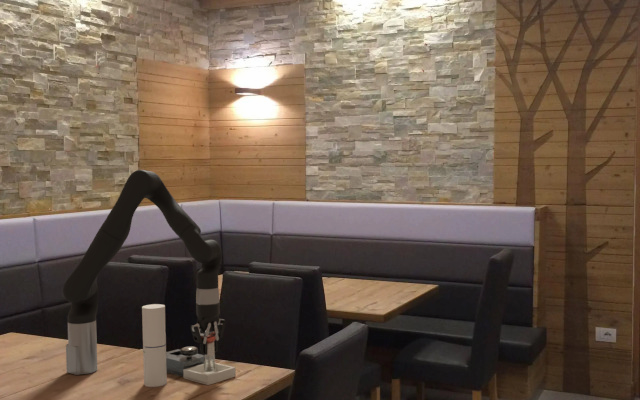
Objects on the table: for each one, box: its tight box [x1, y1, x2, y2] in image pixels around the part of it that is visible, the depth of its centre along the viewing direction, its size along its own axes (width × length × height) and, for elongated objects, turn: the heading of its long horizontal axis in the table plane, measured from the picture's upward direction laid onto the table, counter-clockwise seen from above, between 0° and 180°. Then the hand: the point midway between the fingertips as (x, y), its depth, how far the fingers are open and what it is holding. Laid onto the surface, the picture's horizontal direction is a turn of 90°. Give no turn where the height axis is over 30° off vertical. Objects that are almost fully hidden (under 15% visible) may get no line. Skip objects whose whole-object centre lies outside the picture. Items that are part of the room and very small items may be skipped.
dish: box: [183, 362, 237, 386], centre depth 242 cm, size 12×12×3 cm
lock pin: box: [202, 334, 216, 372], centre depth 242 cm, size 4×4×11 cm
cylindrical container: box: [141, 303, 168, 388], centre depth 235 cm, size 7×7×25 cm
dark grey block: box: [166, 346, 204, 378], centre depth 251 cm, size 10×15×8 cm, turn 50°
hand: (208, 352), depth 242 cm, fingers closed on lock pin, 4 cm apart
